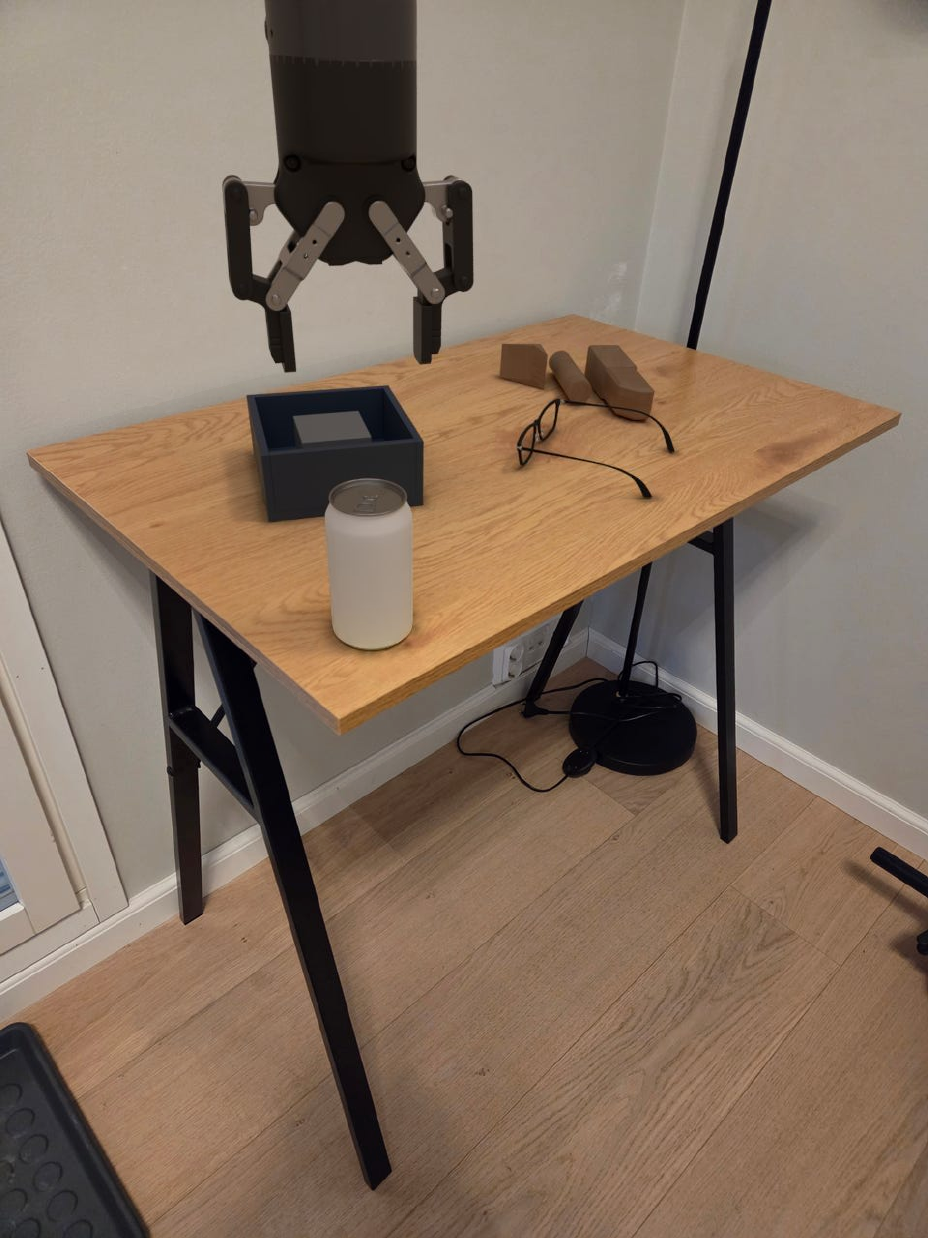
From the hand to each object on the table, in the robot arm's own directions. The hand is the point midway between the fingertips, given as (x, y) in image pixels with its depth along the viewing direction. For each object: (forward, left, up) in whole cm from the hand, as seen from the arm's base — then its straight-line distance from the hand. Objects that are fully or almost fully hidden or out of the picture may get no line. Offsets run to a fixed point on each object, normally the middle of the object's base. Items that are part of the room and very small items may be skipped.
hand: (357, 364), depth 50 cm
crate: (+2, +28, -22) cm, 36 cm away
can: (+1, +1, -22) cm, 22 cm away
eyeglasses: (+32, +26, -22) cm, 47 cm away
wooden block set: (+37, +45, -22) cm, 62 cm away
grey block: (+2, +28, -21) cm, 35 cm away
